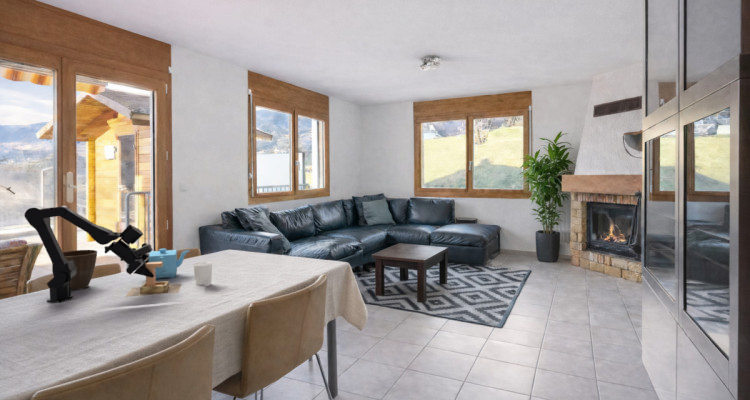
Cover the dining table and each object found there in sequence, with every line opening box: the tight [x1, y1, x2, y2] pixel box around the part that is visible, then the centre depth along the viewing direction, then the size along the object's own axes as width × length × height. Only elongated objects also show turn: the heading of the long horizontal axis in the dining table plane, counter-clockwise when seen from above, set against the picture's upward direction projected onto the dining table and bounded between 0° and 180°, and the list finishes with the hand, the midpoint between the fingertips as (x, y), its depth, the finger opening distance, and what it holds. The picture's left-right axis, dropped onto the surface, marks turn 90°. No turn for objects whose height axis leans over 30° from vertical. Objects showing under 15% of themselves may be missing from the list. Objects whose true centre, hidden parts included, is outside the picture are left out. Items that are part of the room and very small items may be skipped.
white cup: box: [193, 261, 213, 288], centre depth 189 cm, size 8×8×10 cm
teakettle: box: [147, 248, 190, 280], centre depth 201 cm, size 19×19×15 cm
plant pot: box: [62, 249, 98, 291], centre depth 183 cm, size 15×15×16 cm
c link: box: [145, 262, 163, 287], centre depth 177 cm, size 6×4×12 cm, turn 109°
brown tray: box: [125, 280, 183, 298], centre depth 177 cm, size 20×14×4 cm
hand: (154, 275), depth 177 cm, fingers closed on c link, 4 cm apart
